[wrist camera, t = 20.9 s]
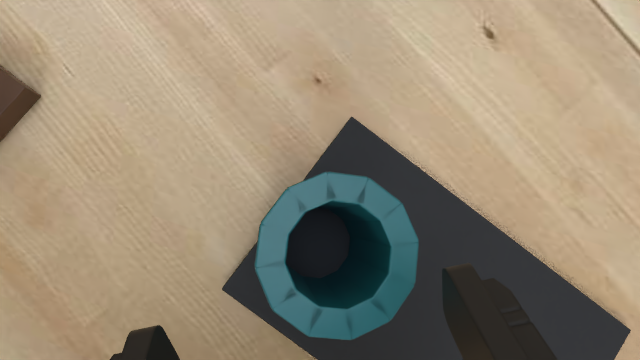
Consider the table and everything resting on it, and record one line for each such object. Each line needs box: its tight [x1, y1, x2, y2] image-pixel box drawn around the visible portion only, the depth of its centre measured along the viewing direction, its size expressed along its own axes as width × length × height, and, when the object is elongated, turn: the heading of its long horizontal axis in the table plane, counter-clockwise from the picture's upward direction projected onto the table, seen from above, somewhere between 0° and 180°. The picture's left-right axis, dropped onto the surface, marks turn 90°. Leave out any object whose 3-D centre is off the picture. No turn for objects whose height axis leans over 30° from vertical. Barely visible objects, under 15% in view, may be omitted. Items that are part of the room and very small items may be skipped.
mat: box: [222, 117, 631, 360], centre depth 24 cm, size 12×21×1 cm, turn 54°
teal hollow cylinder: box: [255, 172, 419, 340], centre depth 19 cm, size 6×6×8 cm
